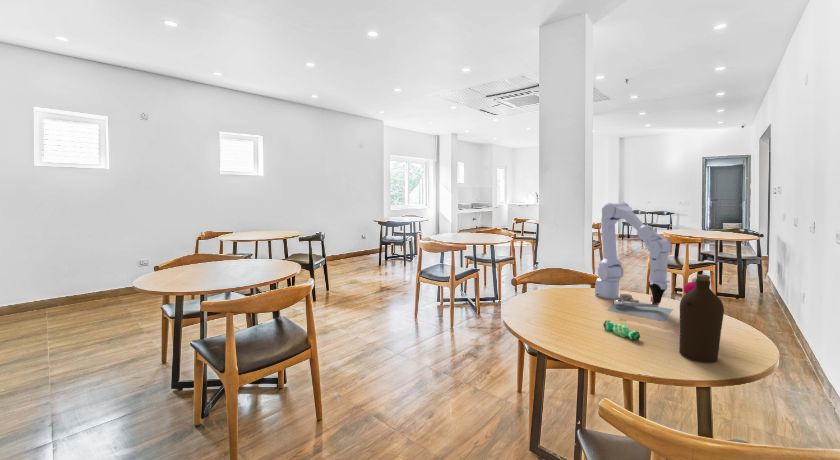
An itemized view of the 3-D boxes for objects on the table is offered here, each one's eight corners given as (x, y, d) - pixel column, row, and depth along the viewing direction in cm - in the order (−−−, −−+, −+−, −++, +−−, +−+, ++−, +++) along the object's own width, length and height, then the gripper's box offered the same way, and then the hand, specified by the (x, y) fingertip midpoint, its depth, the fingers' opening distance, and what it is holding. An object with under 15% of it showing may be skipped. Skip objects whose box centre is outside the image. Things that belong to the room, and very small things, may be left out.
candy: (601, 327, 136) (606, 317, 136) (607, 331, 137) (612, 321, 138) (630, 340, 125) (635, 329, 125) (636, 344, 126) (641, 333, 126)
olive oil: (718, 367, 106) (724, 281, 104) (673, 356, 114) (678, 276, 111) (721, 355, 114) (728, 274, 111) (680, 345, 121) (684, 269, 118)
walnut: (623, 304, 159) (623, 296, 159) (625, 302, 162) (626, 295, 162) (632, 306, 157) (633, 298, 157) (634, 304, 160) (635, 296, 159)
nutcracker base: (606, 313, 153) (606, 301, 153) (619, 302, 166) (619, 292, 166) (663, 324, 140) (664, 312, 139) (672, 312, 153) (673, 300, 152)
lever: (615, 305, 154) (615, 295, 154) (612, 302, 158) (613, 292, 158) (660, 308, 150) (661, 298, 149) (656, 305, 154) (657, 295, 153)
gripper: (677, 273, 140) (675, 308, 142) (663, 265, 154) (661, 297, 156) (656, 272, 142) (654, 307, 144) (644, 265, 156) (642, 296, 158)
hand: (656, 302), depth 150 cm, fingers closed
